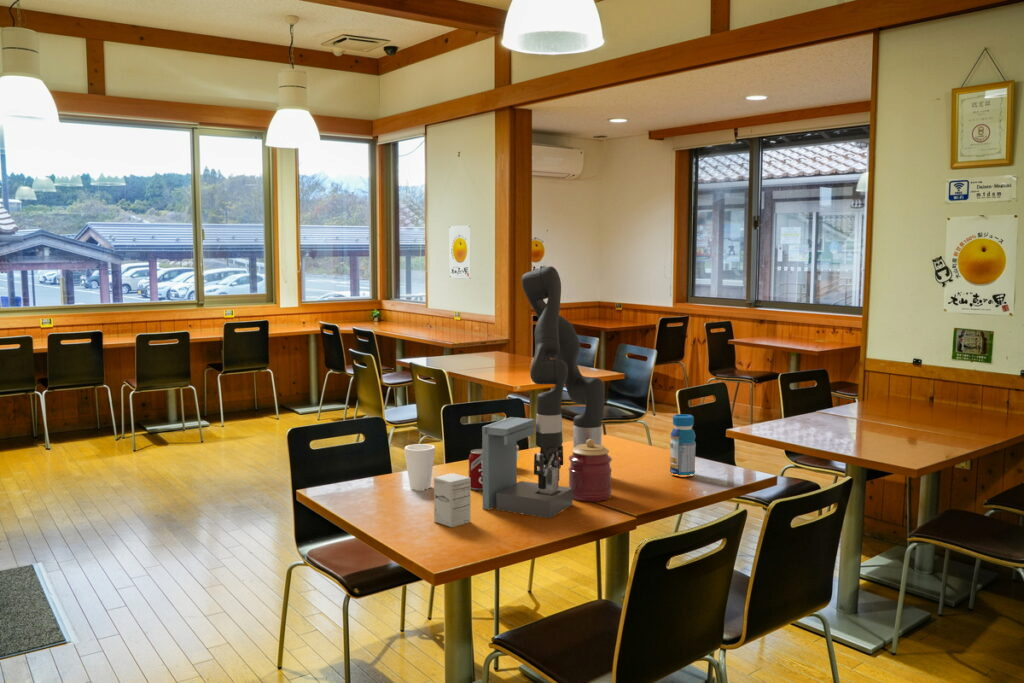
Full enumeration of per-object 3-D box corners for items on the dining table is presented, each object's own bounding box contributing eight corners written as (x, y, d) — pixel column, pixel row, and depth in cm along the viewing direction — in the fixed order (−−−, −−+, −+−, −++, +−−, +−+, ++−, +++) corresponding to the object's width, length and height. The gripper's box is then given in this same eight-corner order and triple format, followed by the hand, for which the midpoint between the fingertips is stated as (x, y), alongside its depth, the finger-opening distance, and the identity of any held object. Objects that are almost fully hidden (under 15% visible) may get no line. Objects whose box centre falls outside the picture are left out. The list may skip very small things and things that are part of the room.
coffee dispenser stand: (511, 494, 255) (510, 416, 253) (534, 498, 252) (534, 419, 249) (482, 508, 241) (482, 426, 238) (507, 512, 237) (506, 429, 235)
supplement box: (433, 522, 228) (432, 476, 227) (454, 516, 234) (453, 472, 232) (450, 528, 223) (450, 481, 222) (471, 522, 228) (471, 476, 227)
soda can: (464, 489, 261) (464, 452, 260) (475, 484, 267) (475, 447, 266) (483, 492, 258) (483, 454, 257) (494, 487, 264) (494, 449, 263)
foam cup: (433, 491, 259) (433, 450, 258) (403, 491, 259) (403, 450, 258) (436, 483, 268) (435, 443, 267) (407, 483, 268) (406, 444, 267)
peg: (546, 506, 243) (546, 466, 242) (558, 508, 241) (558, 467, 240) (539, 510, 239) (539, 468, 238) (552, 512, 237) (552, 470, 236)
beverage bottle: (690, 479, 273) (691, 419, 271) (665, 476, 277) (666, 416, 275) (698, 474, 280) (699, 414, 278) (674, 470, 284) (675, 412, 282)
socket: (521, 497, 253) (521, 480, 252) (572, 504, 245) (572, 487, 244) (496, 509, 240) (496, 492, 239) (549, 518, 231) (549, 500, 231)
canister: (618, 494, 256) (618, 437, 254) (600, 504, 244) (601, 445, 243) (579, 488, 262) (580, 433, 260) (560, 498, 251) (561, 440, 249)
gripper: (548, 423, 246) (548, 478, 247) (525, 432, 233) (525, 489, 235) (571, 426, 242) (571, 481, 244) (549, 435, 230) (549, 492, 231)
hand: (548, 485), depth 239 cm, fingers open, 8 cm apart
